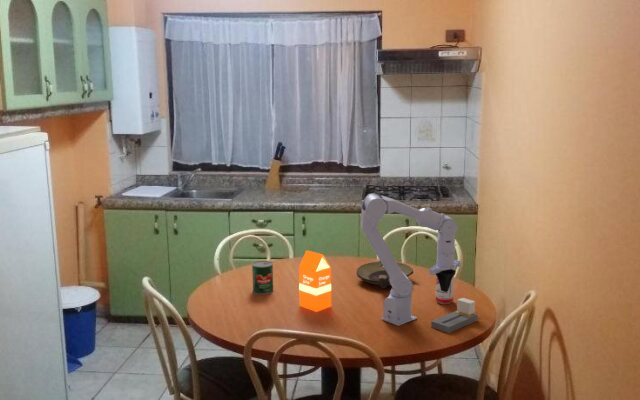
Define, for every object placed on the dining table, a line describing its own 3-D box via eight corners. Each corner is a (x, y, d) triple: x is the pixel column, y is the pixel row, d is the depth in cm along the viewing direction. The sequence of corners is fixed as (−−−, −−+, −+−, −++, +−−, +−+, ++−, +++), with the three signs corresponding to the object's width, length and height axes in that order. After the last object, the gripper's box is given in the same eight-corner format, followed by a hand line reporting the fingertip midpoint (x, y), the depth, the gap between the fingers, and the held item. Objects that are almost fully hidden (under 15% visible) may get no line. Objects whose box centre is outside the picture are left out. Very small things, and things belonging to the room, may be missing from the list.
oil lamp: (421, 277, 257) (421, 259, 255) (392, 299, 231) (393, 279, 230) (371, 269, 268) (371, 252, 266) (339, 290, 242) (339, 271, 241)
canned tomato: (260, 296, 236) (260, 268, 234) (248, 291, 242) (247, 263, 240) (277, 291, 241) (276, 263, 239) (265, 286, 247) (264, 259, 245)
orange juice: (314, 300, 231) (313, 248, 227) (331, 306, 225) (331, 252, 221) (299, 305, 226) (298, 252, 222) (316, 312, 219) (315, 257, 216)
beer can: (440, 297, 232) (441, 256, 229) (456, 301, 228) (457, 259, 225) (432, 302, 228) (433, 260, 225) (447, 306, 224) (449, 263, 221)
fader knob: (469, 314, 208) (469, 303, 208) (457, 310, 212) (457, 299, 211) (474, 312, 210) (475, 301, 210) (462, 308, 214) (462, 297, 213)
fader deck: (448, 333, 200) (448, 326, 200) (431, 326, 205) (431, 320, 205) (477, 320, 210) (477, 314, 210) (460, 314, 216) (460, 308, 215)
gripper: (441, 258, 201) (440, 298, 204) (468, 250, 211) (467, 288, 214) (424, 254, 207) (423, 293, 209) (451, 246, 216) (450, 283, 219)
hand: (444, 290), depth 212 cm, fingers closed
